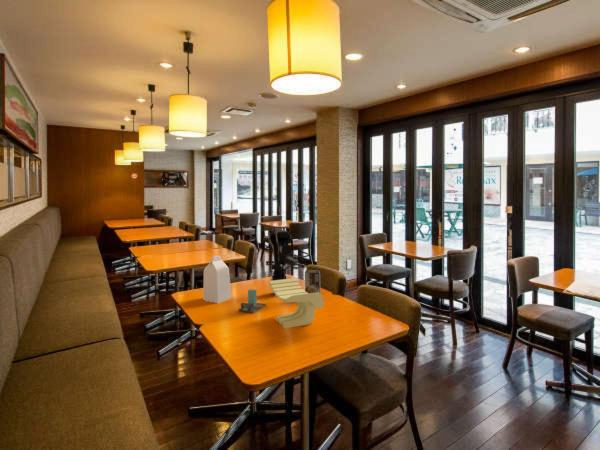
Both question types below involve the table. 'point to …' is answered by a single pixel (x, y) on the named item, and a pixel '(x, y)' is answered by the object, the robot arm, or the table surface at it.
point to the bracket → (253, 309)
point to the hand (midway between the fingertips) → (283, 278)
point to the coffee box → (312, 281)
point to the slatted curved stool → (294, 293)
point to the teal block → (251, 299)
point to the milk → (216, 281)
